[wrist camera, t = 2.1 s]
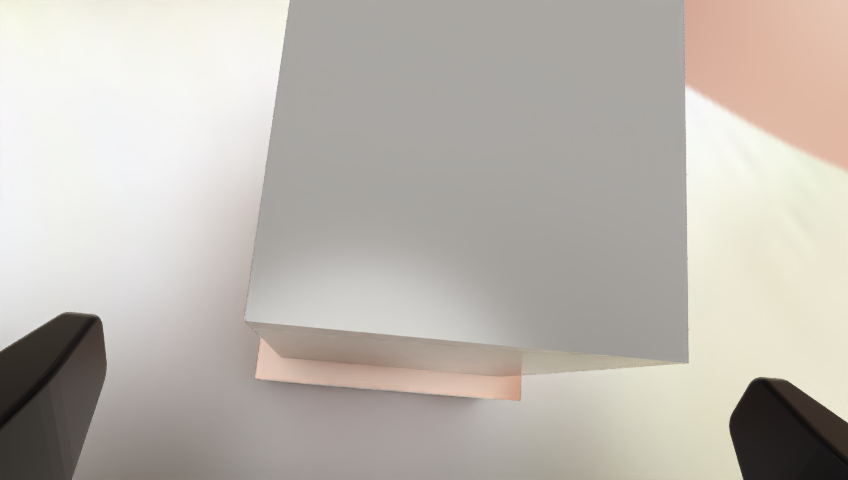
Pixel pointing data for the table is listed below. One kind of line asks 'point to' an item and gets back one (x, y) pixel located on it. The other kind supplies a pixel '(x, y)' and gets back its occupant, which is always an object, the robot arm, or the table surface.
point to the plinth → (383, 377)
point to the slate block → (476, 187)
